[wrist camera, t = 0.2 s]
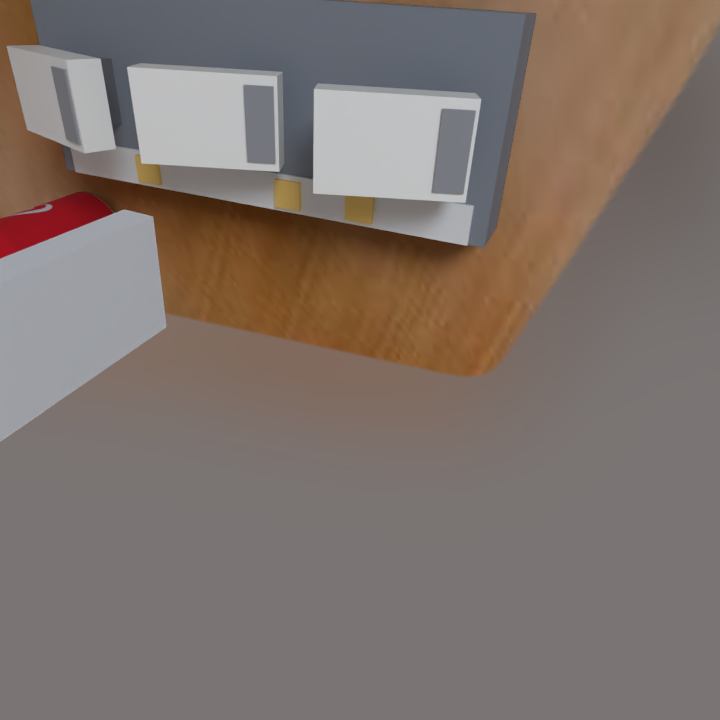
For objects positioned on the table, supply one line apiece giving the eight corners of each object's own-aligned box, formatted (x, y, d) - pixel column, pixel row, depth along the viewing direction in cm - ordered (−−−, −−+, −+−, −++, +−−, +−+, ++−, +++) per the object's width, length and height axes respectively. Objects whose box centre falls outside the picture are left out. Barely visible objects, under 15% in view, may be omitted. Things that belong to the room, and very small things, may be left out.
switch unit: (73, -18, 40) (-6, -21, 35) (536, 13, 31) (518, 14, 26) (105, 158, 47) (42, 176, 42) (496, 227, 37) (475, 261, 32)
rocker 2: (140, 63, 32) (125, 67, 30) (282, 71, 32) (276, 76, 30) (153, 155, 35) (140, 164, 33) (284, 163, 35) (279, 172, 33)
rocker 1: (39, 45, 37) (4, 45, 36) (100, 58, 33) (63, 59, 32) (57, 126, 40) (25, 130, 39) (116, 148, 36) (82, 153, 34)
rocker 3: (317, 83, 29) (313, 89, 27) (475, 93, 29) (481, 99, 27) (316, 182, 32) (312, 194, 30) (461, 191, 32) (466, 203, 30)
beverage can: (62, 189, 50) (-71, 231, 41) (117, 189, 48) (-10, 235, 38) (85, 257, 53) (-33, 311, 44) (137, 261, 51) (24, 319, 41)
